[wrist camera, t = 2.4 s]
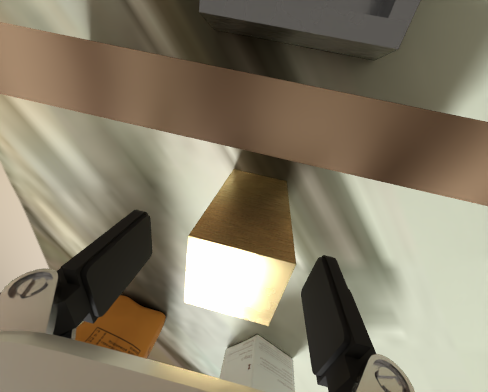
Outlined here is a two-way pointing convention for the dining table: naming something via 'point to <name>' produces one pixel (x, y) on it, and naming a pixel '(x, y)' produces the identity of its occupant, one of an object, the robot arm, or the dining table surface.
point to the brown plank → (250, 112)
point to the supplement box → (258, 366)
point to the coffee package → (124, 328)
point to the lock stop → (242, 249)
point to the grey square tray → (317, 23)
